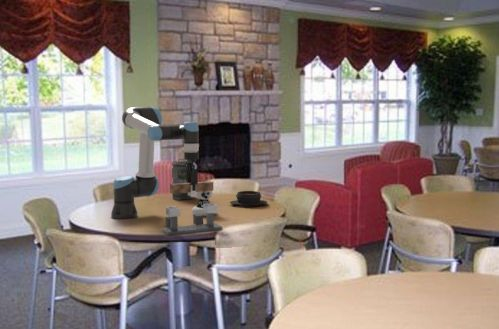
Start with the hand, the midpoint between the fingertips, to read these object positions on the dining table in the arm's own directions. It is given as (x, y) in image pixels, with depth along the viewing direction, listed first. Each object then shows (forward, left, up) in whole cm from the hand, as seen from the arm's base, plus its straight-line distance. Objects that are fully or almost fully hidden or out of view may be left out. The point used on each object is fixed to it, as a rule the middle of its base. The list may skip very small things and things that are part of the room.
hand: (192, 196), depth 281 cm
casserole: (+57, +52, -19) cm, 79 cm away
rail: (0, 0, +2) cm, 2 cm away
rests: (0, +13, -18) cm, 22 cm away
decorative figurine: (+20, +36, -19) cm, 45 cm away
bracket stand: (0, 0, -18) cm, 18 cm away
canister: (+26, +94, -19) cm, 99 cm away
